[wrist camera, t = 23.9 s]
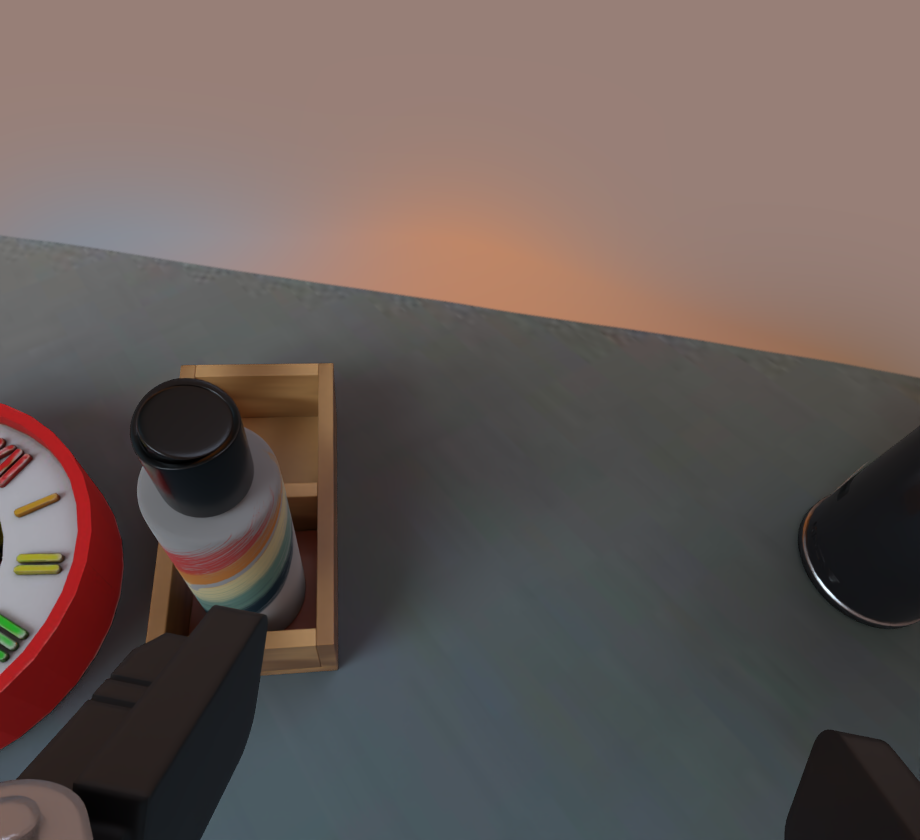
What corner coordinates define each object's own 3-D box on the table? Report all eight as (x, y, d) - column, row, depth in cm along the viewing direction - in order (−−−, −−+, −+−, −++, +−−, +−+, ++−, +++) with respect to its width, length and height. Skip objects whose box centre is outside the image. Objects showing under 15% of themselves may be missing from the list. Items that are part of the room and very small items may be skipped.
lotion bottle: (194, 570, 42) (77, 380, 25) (287, 533, 44) (235, 331, 27) (224, 660, 40) (118, 516, 23) (321, 616, 42) (288, 453, 25)
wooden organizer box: (336, 412, 50) (333, 362, 45) (338, 670, 41) (334, 644, 36) (200, 415, 49) (180, 364, 44) (171, 682, 40) (143, 657, 35)
